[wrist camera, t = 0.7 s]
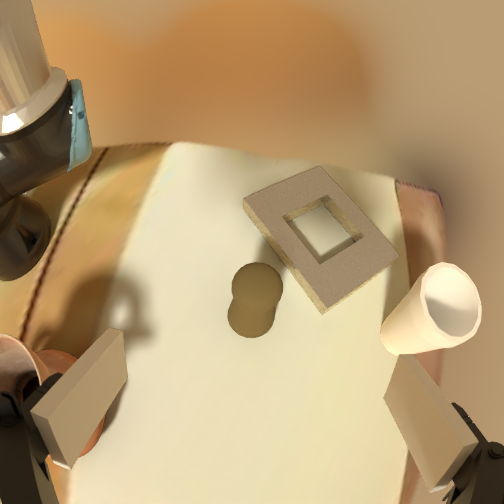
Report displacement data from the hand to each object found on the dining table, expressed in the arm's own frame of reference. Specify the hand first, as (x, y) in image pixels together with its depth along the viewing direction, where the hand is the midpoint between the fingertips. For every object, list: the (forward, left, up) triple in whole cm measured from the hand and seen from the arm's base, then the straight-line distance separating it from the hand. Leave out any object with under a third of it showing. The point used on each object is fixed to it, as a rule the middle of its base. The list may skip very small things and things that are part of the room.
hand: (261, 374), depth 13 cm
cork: (-8, +7, -24) cm, 26 cm away
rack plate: (-13, +22, -24) cm, 35 cm away
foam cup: (+6, +23, -24) cm, 34 cm away
